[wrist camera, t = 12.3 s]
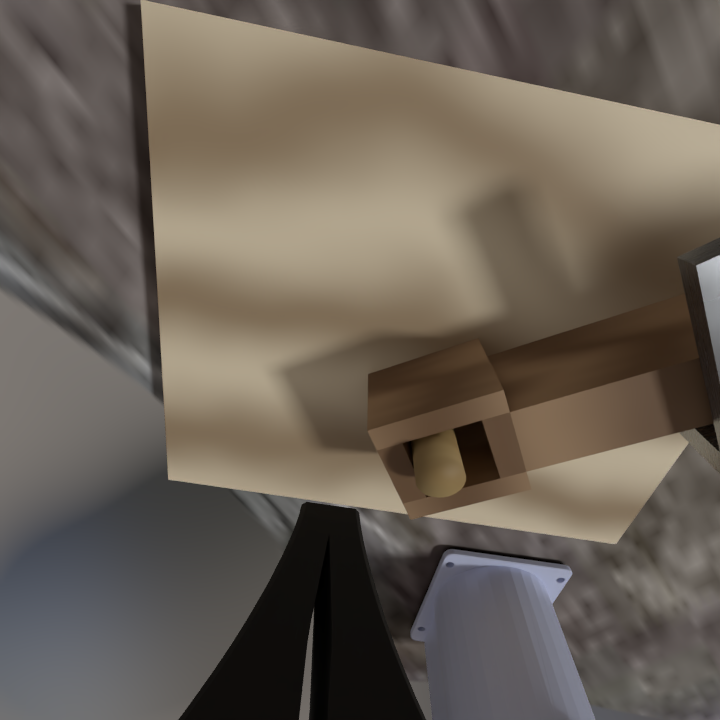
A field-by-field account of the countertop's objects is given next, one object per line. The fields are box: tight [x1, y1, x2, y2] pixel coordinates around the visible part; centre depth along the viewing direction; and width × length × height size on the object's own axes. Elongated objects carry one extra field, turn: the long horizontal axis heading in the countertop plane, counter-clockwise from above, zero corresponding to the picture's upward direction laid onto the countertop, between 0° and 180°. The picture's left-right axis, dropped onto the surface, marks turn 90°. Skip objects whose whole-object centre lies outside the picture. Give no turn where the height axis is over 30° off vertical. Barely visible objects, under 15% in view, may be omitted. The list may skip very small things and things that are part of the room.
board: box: [141, 0, 720, 544], centre depth 17 cm, size 20×25×6 cm
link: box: [367, 294, 714, 520], centre depth 17 cm, size 14×5×4 cm, turn 112°
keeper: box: [677, 238, 720, 474], centre depth 15 cm, size 10×2×5 cm, turn 30°
